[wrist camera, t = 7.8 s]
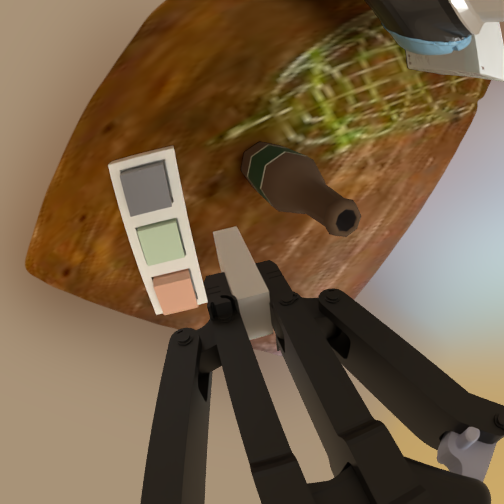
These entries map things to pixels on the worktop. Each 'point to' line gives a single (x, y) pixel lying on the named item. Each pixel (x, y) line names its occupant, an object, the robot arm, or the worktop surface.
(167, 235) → the sage button
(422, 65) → the supplement box
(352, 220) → the beer bottle
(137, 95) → the worktop surface
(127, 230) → the console
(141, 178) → the charcoal button
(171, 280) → the terracotta button
